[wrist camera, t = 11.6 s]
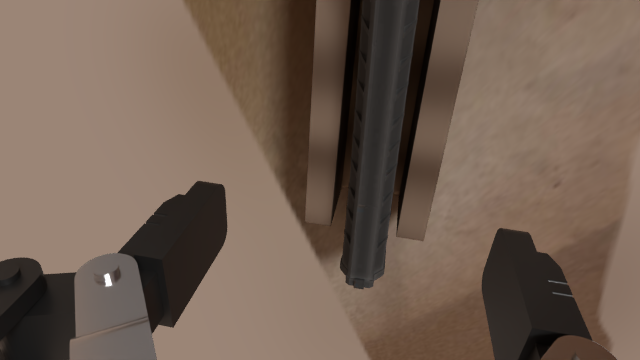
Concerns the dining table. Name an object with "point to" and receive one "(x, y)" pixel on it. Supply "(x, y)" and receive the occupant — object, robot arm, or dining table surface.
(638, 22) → the dining table surface
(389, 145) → the magazine
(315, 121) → the slot block
